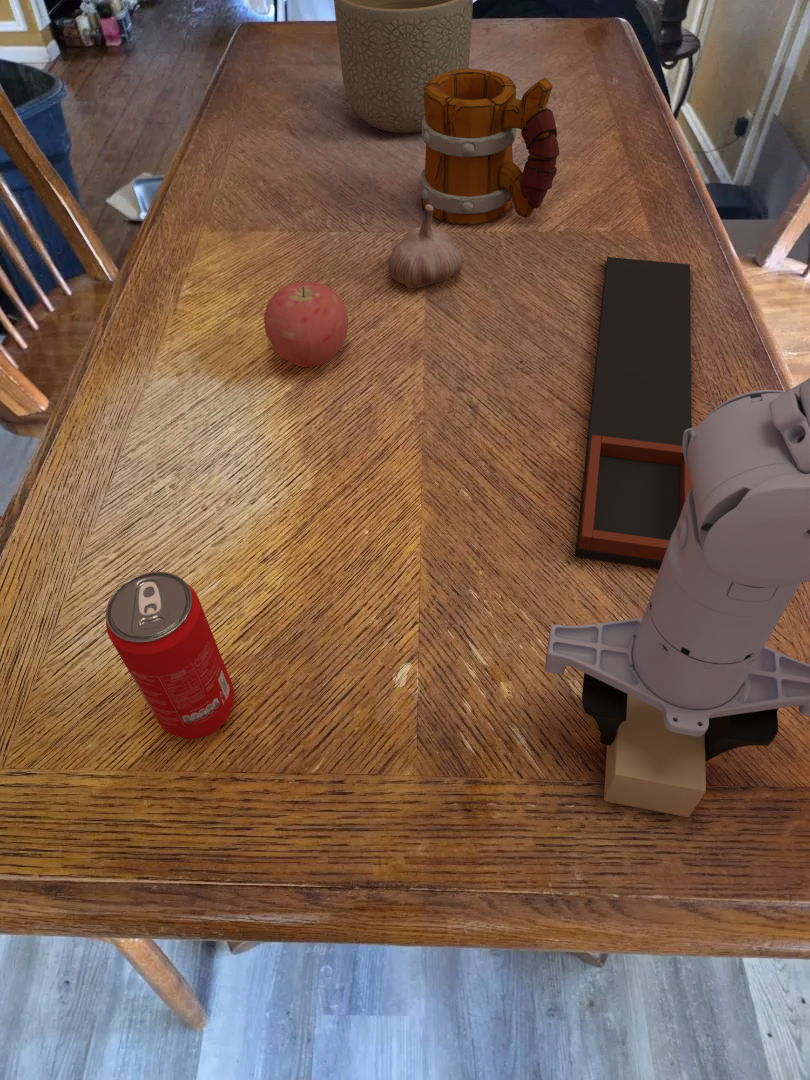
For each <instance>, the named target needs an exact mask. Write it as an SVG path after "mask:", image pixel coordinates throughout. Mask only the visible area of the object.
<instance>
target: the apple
mask: <svg viewBox="0 0 810 1080" xmlns="http://www.w3.org/2000/svg"><path fill="white" fill-rule="evenodd" d="M263 323H264V331H265V334H266V337H267V339H268V341H269V343H270V344H271V347H272V348H273V349H274V350H275V352H276V353H277V354H278V355H279V356H280V357H281V358H283V359H284V360H286V361H287V362H289V363H291V364H292V365H296V366H298V367H304V368H313V367H318V366H321V365H324V364H326V363H327V362H329V361H331V359H332V358H334V357H336V355H337V354H338V352H339V351H340V349H342V347H343V345H344V343H345V341H346V340H347V339H346V338H347V335H348V328H349V327H348V326H349V316H348V312H347V307H346V305H345V302H344V301H343V300H342V298H341V297H340V296H339V294H338V293H337V292H336V291H335V290H333V289H332V288H331V287H329V286H327V285H326V284H323V283H320V282H317V281H309V280H307V281H298V282H292V283H290V284H287V285H285V286H283V287H281V288H280V289H278V291H276V292H274V294H273V295H272V296H271V298H270V300H269V301H268V303H267V304H266V308H265V311H264V316H263Z"/></svg>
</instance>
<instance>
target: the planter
mask: <svg viewBox="0 0 810 1080" xmlns="http://www.w3.org/2000/svg"><path fill="white" fill-rule="evenodd" d="M333 5H334V16H335V25H336V33H337V40H338V49H339V50H338V51H339V56H340V57H339V59H340V66H341V75H342V82H343V87H344V92H345V95H346V98H347V101H348V103H349V105H350V107H351V109H352V110H353V111H354V113H355V114H356V115H357V116H358V117H359V118H361V119H362V120H363V122H365V123H367V124H368V125H370V126H371V127H373V128H376V129H378V130H380V131H384V132H388V133H394V134H414V133H422V120H423V117H424V115H425V110H424V87H426V85H427V83H428V82H429V81H430V80H431V79H432V78H433V77H435V76H436V75H440V74H442V73H444V72H450V71H452V70H457V69H470V58H471V57H470V54H471V42H472V41H471V38H472V24H473V11H474V9H473V5H474V0H333Z"/></svg>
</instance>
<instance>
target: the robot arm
mask: <svg viewBox="0 0 810 1080" xmlns="http://www.w3.org/2000/svg"><path fill="white" fill-rule="evenodd" d="M682 447H683V455H684V459H685V462H686V465H687V467H688V469H689V470H690V477H691V484H692V489H690V491H689V492H688V495H687V498H686V500H685V503H684V506H683V509H682V512H681V514H680V517H679V520H678V523H677V526H676V528H675V530H674V531H673V534H672V536H671V539H670V542H669V545H668V547H667V550H666V553H665V556H664V559H663V562H662V564H661V567H660V569H658V574H657V576H656V579H655V582H654V585H653V586H652V587H653V588H652V590H651V594H650V597H649V599H648V602H647V605H646V608H645V611H644V613H643V617H635V618H629V619H621V620H612V621H606V622H597V623H591V624H581V625H565V624H556V623H551V625H550V630H549V635H548V640H547V647H546V655H545V662H544V664H545V665H544V672H546V673H552V674H557V675H562V674H564V673H565V671H566V667H571V668H573V669H574V670H578V671H580V672H582V673H583V680H582V691H581V692H582V693H581V703H582V704H581V705H582V708H583V711H584V714H585V715H587V716H589V717H591V718H592V719H593V720H594V722H595V723H596V725H597V727H598V730H599V743H600V744H601V745H603V746H604V745H605V746H607V745H609V746H610V745H611V744H612V743H613V741H614V739H615V735H616V731H617V729H618V727H619V726H620V724H621V723H622V722H623V721H626V717H627V696H628V694H629V695H631V696H633V697H635V698H637V699H639V700H641V701H643V702H645V703H647V704H649V705H651V706H653V707H655V708H657V709H659V710H661V711H662V713H663V715H664V725H665V727H666V728H667V729H668V730H669V731H671V732H674V733H680V734H685V735H691V736H702V735H703V734H705V763H706V762H708V761H710V760H712V759H714V758H717V757H718V756H720V755H722V754H724V753H726V752H729V751H732V750H734V749H738V748H743V747H750V746H753V747H755V746H759V747H760V746H761V747H769V745H770V744H771V743H772V742H773V741H774V740H775V738H776V737H777V735H778V733H779V717H778V711H779V710H780V709H783V708H791V707H798V712H799V714H801V715H802V716H803V717H810V663H808V662H804V661H801V660H799V659H796V658H794V657H791V656H789V655H787V654H785V653H782V652H779V651H777V650H775V649H773V648H771V647H768V646H766V644H767V642H768V640H769V639H770V637H771V635H772V634H773V631H774V630H775V628H776V627H777V625H778V623H779V621H780V620H781V618H782V616H783V615H784V613H785V612H786V610H787V608H788V606H789V604H790V603H791V601H792V599H793V597H794V596H795V594H796V593H797V591H798V589H800V588H799V587H800V586H801V584H804V583H808V582H810V377H809V378H807V379H805V380H804V381H802V382H801V383H799V384H797V385H795V386H794V387H792V388H790V389H788V390H781V389H759V390H752V391H747V392H744V393H741V394H738V395H734V396H733V397H731V398H729V399H727V400H725V401H724V402H722V403H720V404H718V405H717V406H716V407H715V408H714V409H713V410H711V411H710V412H709V413H708V415H706V416H705V418H704V419H703V420H702V421H700V423H699V424H698V426H697V427H692V428H689V429H687V430H685V432H684V434H683V440H682Z"/></svg>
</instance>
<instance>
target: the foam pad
mask: <svg viewBox="0 0 810 1080" xmlns="http://www.w3.org/2000/svg"><path fill="white" fill-rule="evenodd" d="M706 774H707V773H706V762H705V734H703V735H702V736H691V735H685V734H680V733H674V732H671V731H669V730H668V729H667V728H666V727H665V725H664V715H663V713H662V711H661V710H659V709H657V708H655V707H653V706H651V705H649V704H647V703H645V702H643V701H641V700H639V699H637V698H635V697H633V696H631V695H629V694H628V696H627V717H626V721H623V722H622V723H621V724H620V726H619V727H618V729H617V731H616V735H615V739H614V741H613V743H612V744H611V745H610V746H609V745H606V759H605V776H604V778H605V779H604V791H603V801H604V802H607V803H611V804H616V805H617V804H618V805H622V806H627V807H632V808H638V809H642V810H648V811H654V812H659V813H665V814H670V815H674V816H680V817H685V818H689V817H690V816H691V815H692V813H693V811H694V810H695V808H696V807H697V805H698V804H699V802H700V801H701V799H702V798H703V796H704V794H705V793H706V791H707V777H706Z"/></svg>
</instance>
